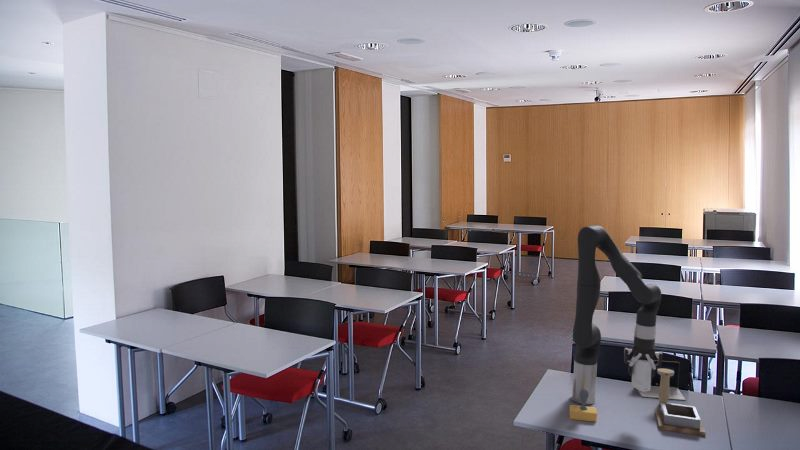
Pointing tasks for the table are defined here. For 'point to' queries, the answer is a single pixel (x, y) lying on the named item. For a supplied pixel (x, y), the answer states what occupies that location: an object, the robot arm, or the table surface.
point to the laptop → (673, 382)
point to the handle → (664, 384)
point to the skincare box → (641, 375)
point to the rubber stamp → (583, 409)
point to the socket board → (679, 419)
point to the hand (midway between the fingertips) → (641, 376)
